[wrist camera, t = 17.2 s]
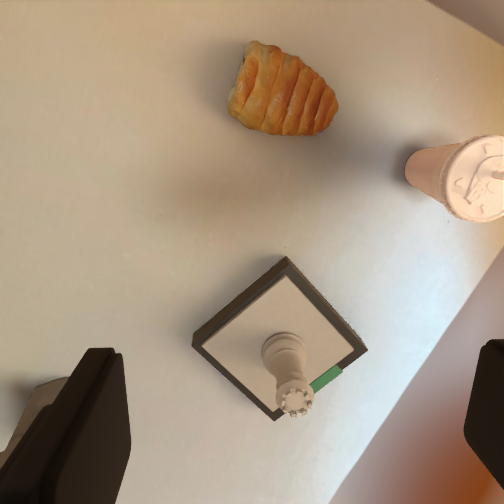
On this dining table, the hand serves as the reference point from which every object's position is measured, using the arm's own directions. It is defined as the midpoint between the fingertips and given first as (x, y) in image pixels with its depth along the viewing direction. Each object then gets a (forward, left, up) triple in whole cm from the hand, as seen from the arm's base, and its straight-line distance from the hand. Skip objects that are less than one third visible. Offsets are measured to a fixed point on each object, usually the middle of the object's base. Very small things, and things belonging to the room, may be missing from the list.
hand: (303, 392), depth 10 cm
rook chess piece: (-12, +9, -26) cm, 30 cm away
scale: (-12, +9, -28) cm, 32 cm away
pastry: (+4, -9, -28) cm, 30 cm away
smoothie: (-11, -13, -28) cm, 33 cm away
